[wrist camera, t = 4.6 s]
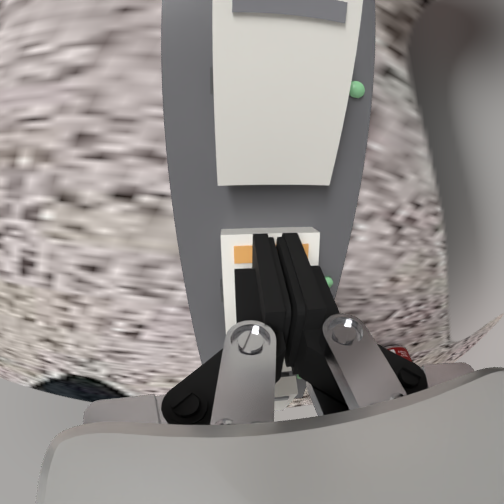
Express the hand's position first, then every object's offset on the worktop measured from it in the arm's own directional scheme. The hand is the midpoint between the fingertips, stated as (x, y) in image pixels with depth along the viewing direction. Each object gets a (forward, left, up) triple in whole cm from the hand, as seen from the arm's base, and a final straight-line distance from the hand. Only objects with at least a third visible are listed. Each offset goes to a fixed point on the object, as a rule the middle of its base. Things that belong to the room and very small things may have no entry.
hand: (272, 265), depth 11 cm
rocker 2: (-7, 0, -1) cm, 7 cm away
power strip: (0, 0, -6) cm, 6 cm away
